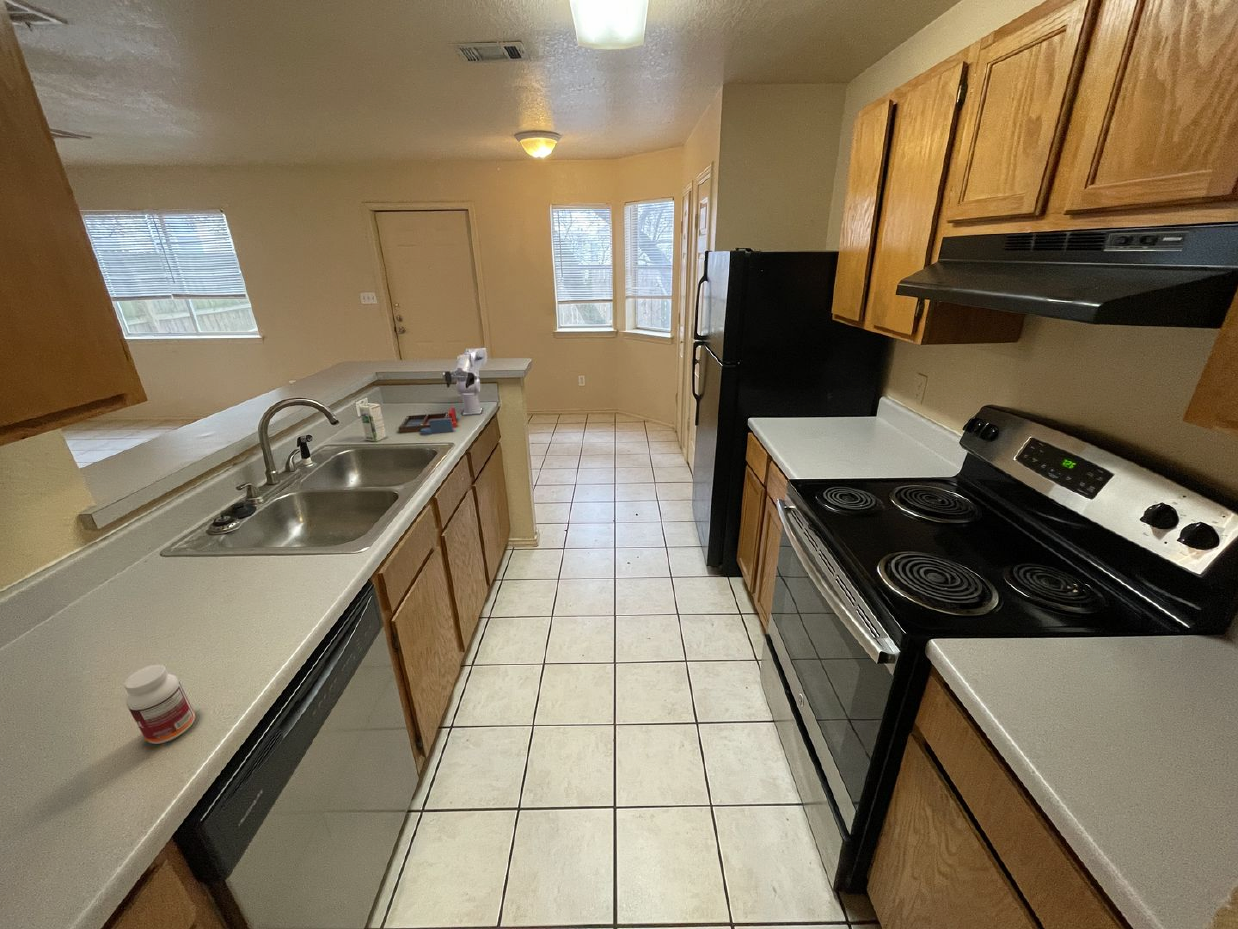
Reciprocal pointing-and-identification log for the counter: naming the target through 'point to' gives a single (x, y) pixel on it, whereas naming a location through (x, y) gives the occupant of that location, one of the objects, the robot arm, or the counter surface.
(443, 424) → the blue spoon
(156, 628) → the counter surface
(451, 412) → the red spoon
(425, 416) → the sorting tray
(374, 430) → the syrup box
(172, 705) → the pill bottle
